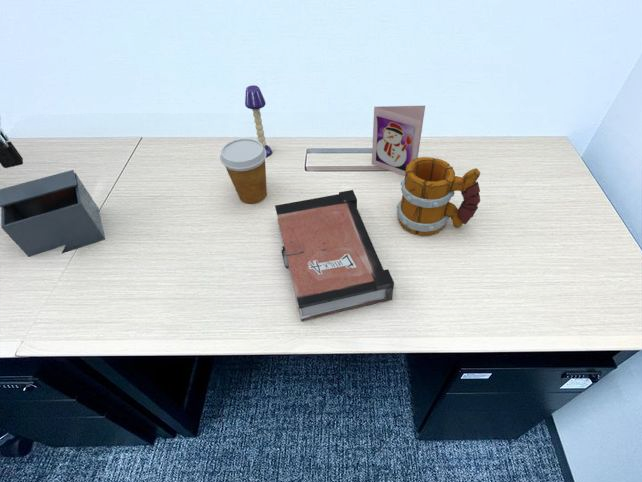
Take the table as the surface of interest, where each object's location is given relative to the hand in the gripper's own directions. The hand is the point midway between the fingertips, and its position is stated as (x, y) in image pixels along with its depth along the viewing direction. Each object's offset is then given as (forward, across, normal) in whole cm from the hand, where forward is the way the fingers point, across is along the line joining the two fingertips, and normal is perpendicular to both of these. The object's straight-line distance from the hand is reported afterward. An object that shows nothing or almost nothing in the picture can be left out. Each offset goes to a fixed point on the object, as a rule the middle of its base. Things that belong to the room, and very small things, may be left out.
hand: (14, 163), depth 75 cm
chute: (+14, +7, +2) cm, 15 cm away
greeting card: (+13, +20, +76) cm, 79 cm away
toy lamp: (+13, -1, +49) cm, 50 cm away
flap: (+4, +4, +2) cm, 6 cm away
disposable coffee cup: (+13, +14, +40) cm, 44 cm away
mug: (+12, +41, +71) cm, 83 cm away
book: (+13, +39, +47) cm, 62 cm away
